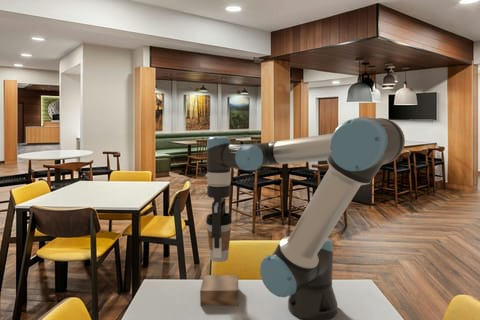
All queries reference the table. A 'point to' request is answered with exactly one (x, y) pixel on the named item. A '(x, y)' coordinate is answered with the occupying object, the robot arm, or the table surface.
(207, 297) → the walnut block
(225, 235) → the coffee cup
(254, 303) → the table surface
